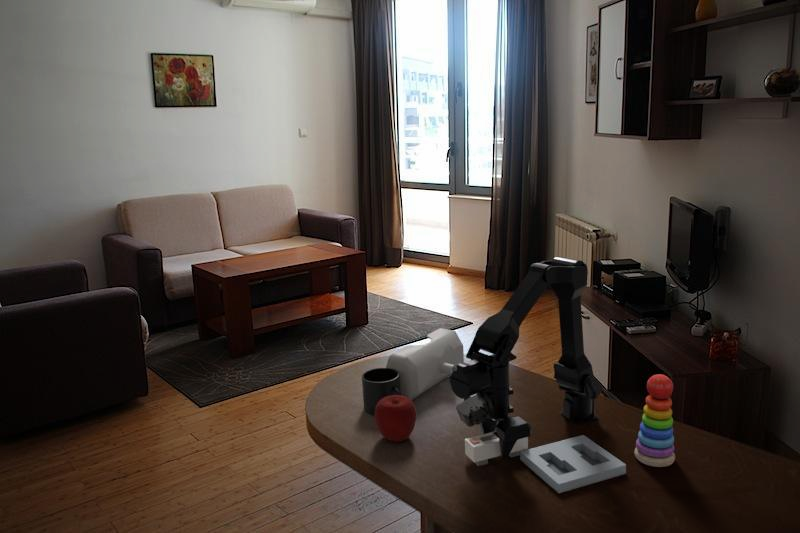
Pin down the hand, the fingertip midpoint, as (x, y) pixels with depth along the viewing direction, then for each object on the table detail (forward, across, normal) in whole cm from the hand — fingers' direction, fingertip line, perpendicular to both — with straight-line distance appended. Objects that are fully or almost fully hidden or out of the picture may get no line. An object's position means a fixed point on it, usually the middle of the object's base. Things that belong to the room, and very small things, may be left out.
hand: (496, 451), depth 145 cm
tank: (+2, -41, +3) cm, 42 cm away
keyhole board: (+2, +10, +12) cm, 16 cm away
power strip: (+2, 0, 0) cm, 2 cm away
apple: (+2, -18, -16) cm, 24 cm away
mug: (+2, -33, -13) cm, 36 cm away
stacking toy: (+2, +15, +29) cm, 33 cm away
